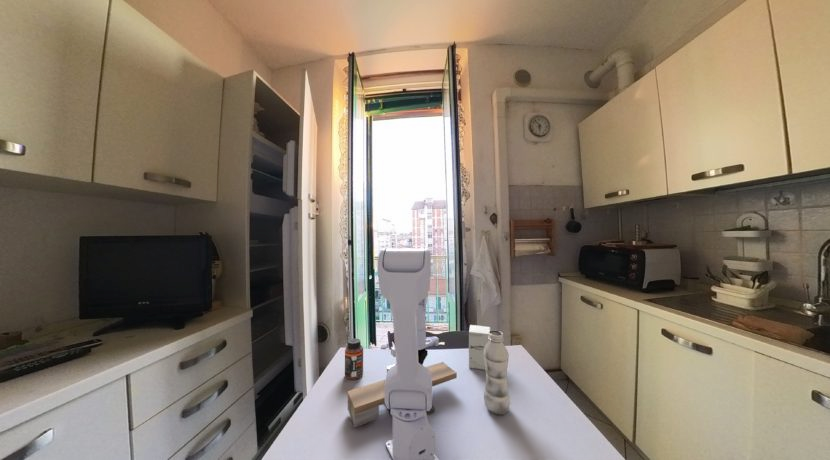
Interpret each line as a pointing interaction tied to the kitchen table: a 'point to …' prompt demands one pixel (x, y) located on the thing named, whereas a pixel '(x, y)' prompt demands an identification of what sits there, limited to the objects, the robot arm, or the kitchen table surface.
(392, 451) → the robot arm
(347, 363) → the supplement bottle
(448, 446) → the kitchen table surface
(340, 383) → the kitchen table surface
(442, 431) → the kitchen table surface
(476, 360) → the supplement box
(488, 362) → the plastic bottle
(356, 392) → the balance beam
